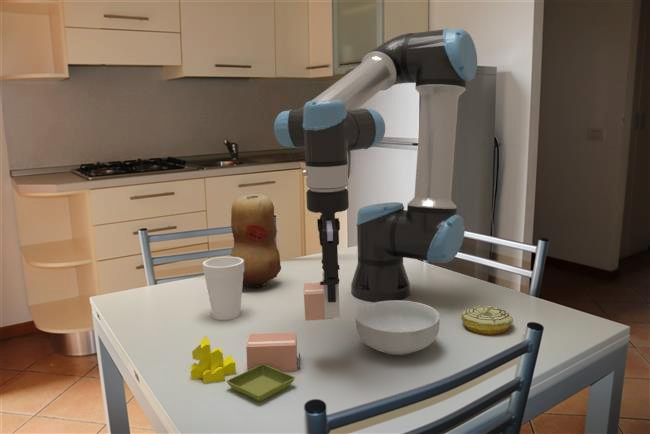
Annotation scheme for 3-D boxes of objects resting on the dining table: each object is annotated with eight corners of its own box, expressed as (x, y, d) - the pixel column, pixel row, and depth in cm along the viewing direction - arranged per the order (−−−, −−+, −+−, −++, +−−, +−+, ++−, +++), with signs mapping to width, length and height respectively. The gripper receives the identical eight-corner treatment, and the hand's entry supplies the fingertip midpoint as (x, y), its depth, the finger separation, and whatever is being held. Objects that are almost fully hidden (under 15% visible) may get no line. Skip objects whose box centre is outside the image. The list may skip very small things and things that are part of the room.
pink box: (331, 306, 110) (330, 281, 109) (332, 319, 104) (331, 292, 103) (305, 308, 110) (304, 283, 109) (305, 320, 104) (303, 294, 103)
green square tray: (225, 391, 99) (225, 380, 99) (263, 373, 105) (262, 363, 105) (259, 408, 93) (258, 396, 93) (296, 388, 100) (296, 377, 99)
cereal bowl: (354, 331, 123) (354, 299, 122) (432, 330, 123) (432, 299, 121) (356, 366, 107) (356, 330, 105) (446, 366, 106) (446, 330, 105)
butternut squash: (232, 295, 148) (227, 200, 143) (228, 280, 161) (223, 193, 156) (285, 290, 151) (281, 197, 146) (277, 276, 164) (273, 190, 159)
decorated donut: (520, 326, 124) (521, 309, 124) (498, 341, 117) (498, 324, 116) (476, 315, 131) (477, 299, 131) (452, 328, 124) (453, 312, 123)
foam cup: (238, 323, 129) (235, 268, 126) (199, 321, 131) (196, 266, 128) (251, 309, 138) (249, 257, 135) (215, 307, 140) (212, 255, 137)
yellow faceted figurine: (236, 379, 103) (234, 339, 101) (191, 385, 101) (188, 344, 99) (234, 365, 108) (232, 326, 107) (191, 370, 107) (188, 331, 105)
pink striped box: (300, 356, 111) (299, 331, 110) (299, 370, 105) (299, 344, 104) (250, 358, 111) (249, 333, 110) (247, 372, 105) (246, 346, 104)
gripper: (306, 181, 111) (310, 294, 116) (306, 198, 93) (311, 331, 97) (344, 179, 111) (347, 292, 116) (352, 196, 93) (355, 329, 98)
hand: (331, 310), depth 107 cm, fingers closed on pink box, 6 cm apart
